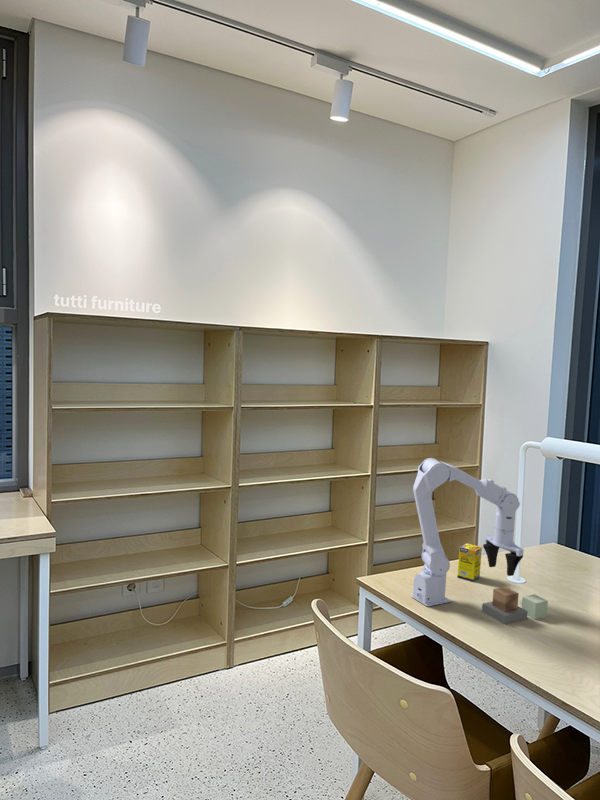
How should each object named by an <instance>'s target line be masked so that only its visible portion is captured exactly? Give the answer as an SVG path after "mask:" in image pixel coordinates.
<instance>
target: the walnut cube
mask: <svg viewBox="0 0 600 800" xmlns="http://www.w3.org/2000/svg"><path fill="white" fill-rule="evenodd" d="M492 591H493V592H492V601H493V603H492V605H493V606H495V607H496V608H498V609H500V610H502V611H504V612H508V611H513V610H517V608H518V606H519V605H518V604H519V593H520V592H517V591H515V590H513V589H511V588H509V587H507V586H503V587H498V588H493V589H492Z"/></svg>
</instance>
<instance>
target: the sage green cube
mask: <svg viewBox="0 0 600 800" xmlns="http://www.w3.org/2000/svg"><path fill="white" fill-rule="evenodd" d="M521 599H522V601H521V608H523V609H525V610H526V611H528V613H527V617H529V618H531V619H533V620H539V619H542V618H546V617H548V614H547V613H548V604H549V603H548V602H549V600H547V599H545V598H543V597H541V596H539V595H537V594H530V595H524V596H522V598H521Z"/></svg>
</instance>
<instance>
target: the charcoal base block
mask: <svg viewBox="0 0 600 800" xmlns="http://www.w3.org/2000/svg"><path fill="white" fill-rule="evenodd" d="M492 603H493V600H492V601H488V602H483V603H482V605H481V612H482V613H484V614H485V615H487V616H489V617H491V618H492V619H494V620H496V621H498V622H499V623H501V624H503V625H508V624H512V623H517V622H521V621H526V620H528V616H527V613H528V611H526V610H525V609H523V608H522V606H519V605H518V608H517V610H513V611H508V612H504V611H502V610H500V609H498V608H496V607H495V606H493V605H492Z"/></svg>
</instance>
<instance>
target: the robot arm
mask: <svg viewBox="0 0 600 800" xmlns="http://www.w3.org/2000/svg"><path fill="white" fill-rule="evenodd" d="M447 481H448V482H452V481H458V482H459V483H461V484H463V485H466V486H467V487H469V488H471V489H474V491H475V495H476V496H478V497H480V498H482V499H484V500H486V501H487V502H490V504H493V505H495V506H496V508H495V509H496V510H495V519H494V520H495V521H494V533H493V534H494V535H493V536H492V535H484V536H483V537H484V538H483V542H484V544H483V545H482V546H483V547H482V548H483V549H484V551H485V554H486V557H487V563H488V567H489V568H495V567H496V566H497V560H498V559H497V558H498V554H499V550H500V549H503V550H505V551H508V553H504V554H505V555H504V556H505V560H506V576H508V577H510V576H514V575H515V572H516V569H517V567H518V565H519V563H520V561H521V560H522V559H523V558H524V551H525V550H524V549H523V548H521V547H520V546H518V545H517V544H515V541H514V536H515V535H514V534H515V533H514V532H515V523H516V522H515V521H516V512H517V510H518V509H519V507H520V506H521V502H520V501H519V497H518V496H517V494H516V493H513V492H511V491H509V490H507V487H505V486H500V485H498V484H496V483H495V481H494V480H493V479H491V478H488V479H486V478H482V479H478V478H475V477H474V476H472V475H470V474H468V473H467V472H466V471H463V470H461V469H460V468H458V467H456V465H455V466H454V465H452V464H450V463H448V462H447V463H446V462H444V461H442V460H440V461H439V460H438V459H437V458H434V457H428V458H425V459H424V460H423V461H422V462H421V463H420V464H419V465H418V466H417V474H416V477H415V481H414V484H413V486H412V487H413V488H412V490H413V495H414V497H413V498H414V500H415V501H414V503H415V506H416V511H417V512H416V513H417V516H418V521H419V525H420V530H421V535H422V541H423V543H422V544H421V545H422V552H421V561H422V562H423V568H422V571H421V572H419V573H417V574H416V575H415V576H414V579H413V589H412V590H413V591H412V594H411V597H412V598H413V599H415V601H417V602H419V603H421V605H424V606H426V607H432V606H437V605H441V604H447V603H451V602H452V600H451V599H449V598H448V597H446V585H447V573H448V572H449V570H450V567H451V562H450V560H449V559H448V557H447V556H446V553H445V550H444V548H443V545H442V542H441V539H440V534H439V529H438V528H439V527H438V524H437V519H436V514H435V509H434V503H433V498H432V493H433V492H434V491H435V490H436V488H438V487H440V486H441V485H443V484H444V483H445V482H447Z"/></svg>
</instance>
